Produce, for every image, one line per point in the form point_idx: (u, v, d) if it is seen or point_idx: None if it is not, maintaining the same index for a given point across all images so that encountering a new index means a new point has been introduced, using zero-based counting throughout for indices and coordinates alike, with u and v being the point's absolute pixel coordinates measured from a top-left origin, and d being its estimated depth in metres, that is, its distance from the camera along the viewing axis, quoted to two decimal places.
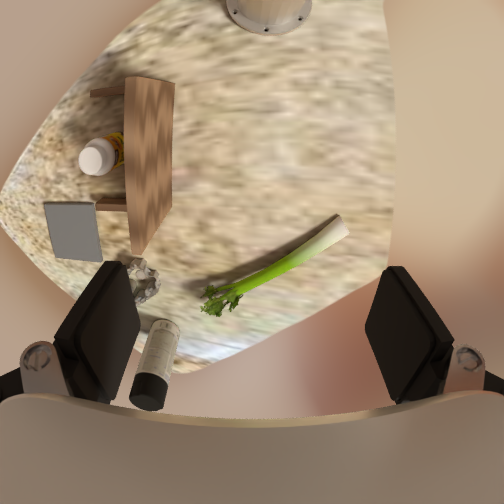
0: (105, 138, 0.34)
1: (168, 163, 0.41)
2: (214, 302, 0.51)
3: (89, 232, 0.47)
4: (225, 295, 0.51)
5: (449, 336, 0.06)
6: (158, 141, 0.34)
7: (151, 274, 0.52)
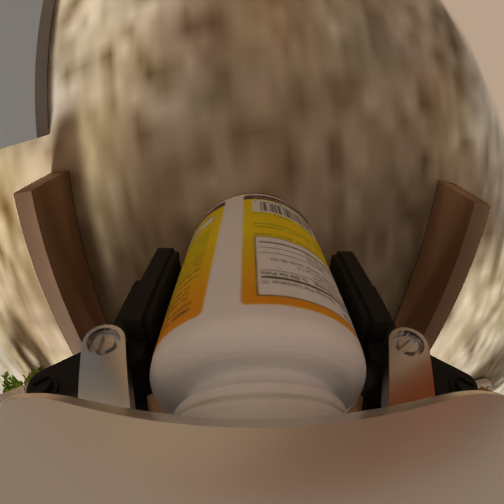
0: None
1: None
2: None
3: None
4: None
5: (387, 318, 0.07)
6: None
7: None
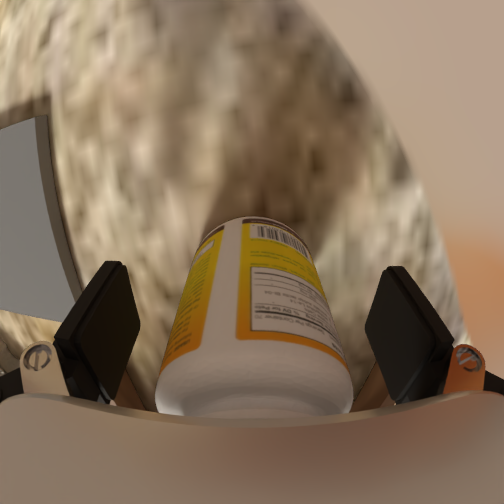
0: None
1: None
2: None
3: (17, 298, 0.14)
4: None
5: (450, 336, 0.06)
6: None
7: None
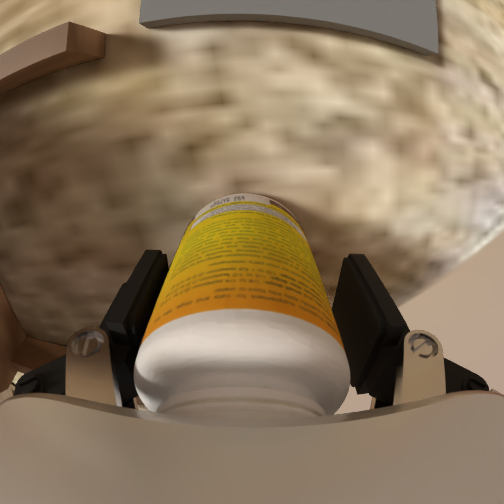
0: None
1: None
2: None
3: None
4: None
5: (401, 321, 0.07)
6: None
7: None
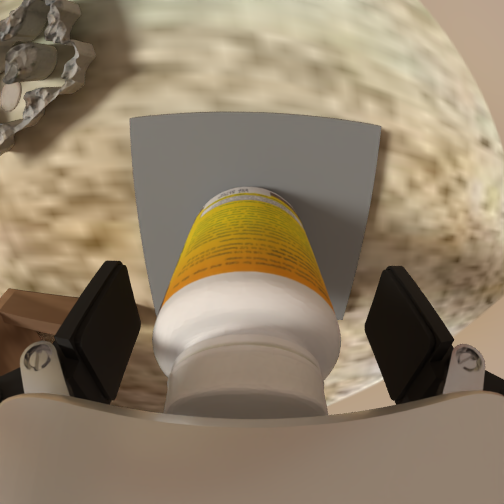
0: None
1: None
2: None
3: (165, 239, 0.15)
4: None
5: (449, 336, 0.06)
6: None
7: None
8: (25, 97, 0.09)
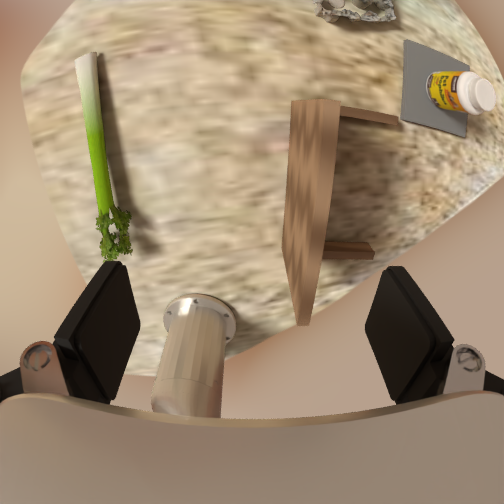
0: (463, 109, 0.23)
1: (290, 164, 0.33)
2: (105, 244, 0.36)
3: (415, 84, 0.28)
4: None
5: (449, 336, 0.06)
6: (294, 211, 0.31)
7: None
8: (369, 11, 0.23)
